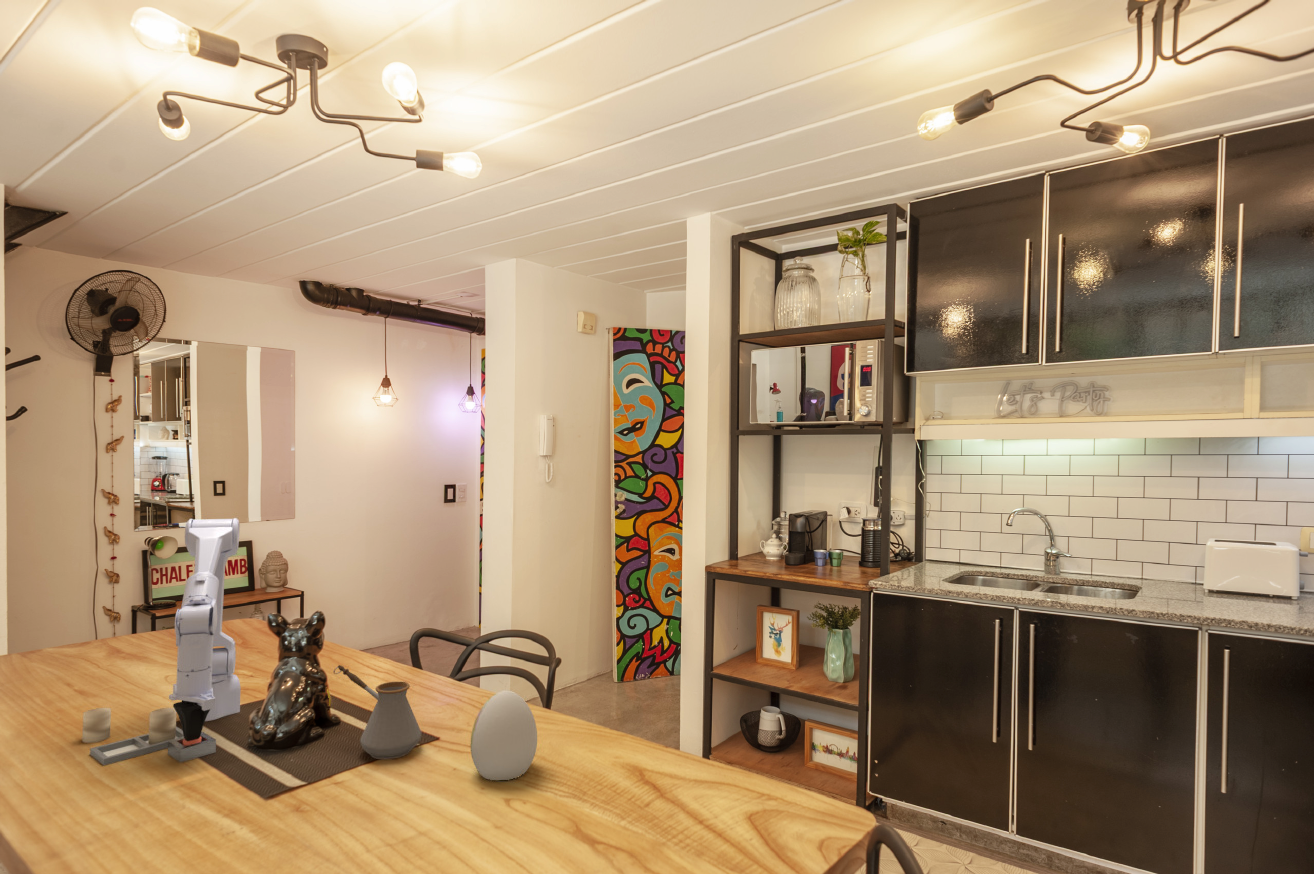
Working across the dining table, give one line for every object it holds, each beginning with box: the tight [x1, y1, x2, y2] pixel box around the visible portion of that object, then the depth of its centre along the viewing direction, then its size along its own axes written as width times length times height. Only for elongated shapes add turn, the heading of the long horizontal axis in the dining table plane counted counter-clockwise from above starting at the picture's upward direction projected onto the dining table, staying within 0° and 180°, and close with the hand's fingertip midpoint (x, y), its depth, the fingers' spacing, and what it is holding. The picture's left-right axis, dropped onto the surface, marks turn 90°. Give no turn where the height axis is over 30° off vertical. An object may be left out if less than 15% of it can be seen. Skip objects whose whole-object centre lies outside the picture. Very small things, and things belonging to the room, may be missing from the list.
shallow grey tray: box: [89, 726, 184, 766], centre depth 140 cm, size 14×8×2 cm, turn 143°
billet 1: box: [81, 707, 112, 744], centre depth 144 cm, size 4×4×6 cm
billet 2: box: [148, 707, 177, 745], centre depth 143 cm, size 4×4×6 cm
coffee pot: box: [333, 664, 422, 760], centre depth 146 cm, size 21×12×15 cm, turn 65°
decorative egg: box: [470, 690, 538, 781], centre depth 135 cm, size 12×12×15 cm
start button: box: [183, 736, 202, 746], centre depth 138 cm, size 3×3×2 cm
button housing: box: [167, 731, 217, 763], centre depth 138 cm, size 6×6×4 cm
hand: (192, 739), depth 138 cm, fingers closed, pressing on start button
